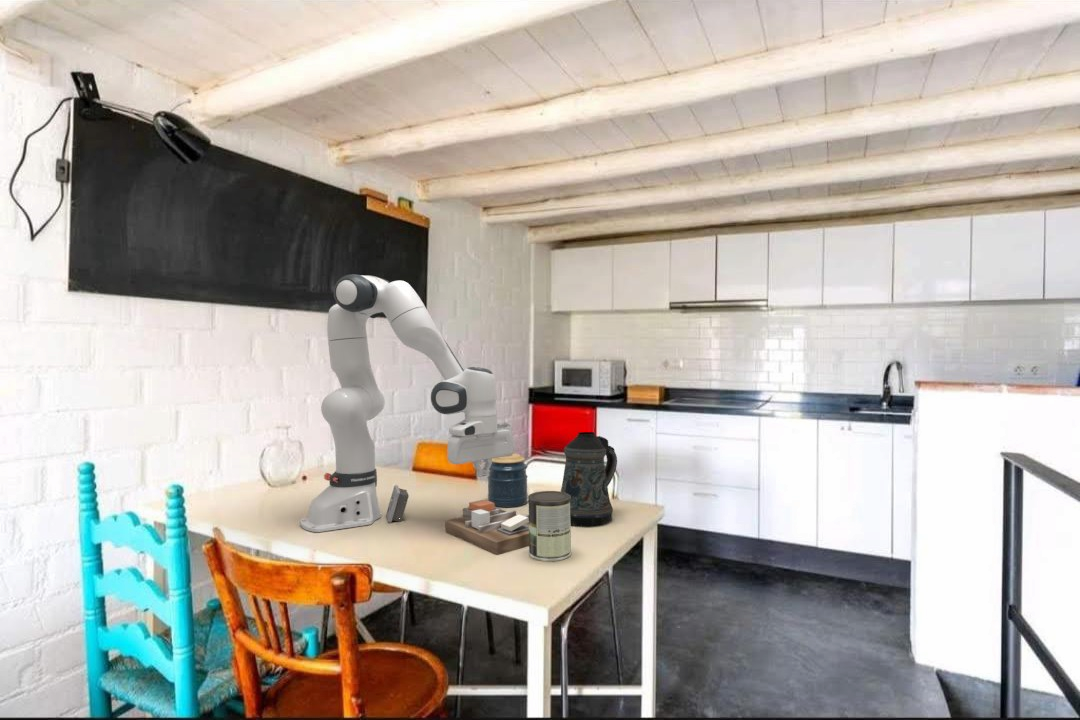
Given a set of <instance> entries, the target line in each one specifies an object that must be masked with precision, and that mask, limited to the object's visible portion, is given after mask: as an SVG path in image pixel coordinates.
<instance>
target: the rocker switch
mask: <svg viewBox="0 0 1080 720" xmlns="http://www.w3.org/2000/svg"><path fill="white" fill-rule="evenodd" d="M528 522H529V519H528V517H525V516H523V515H522V514H519V513H518V514H516V516H514V517H512V518H510V519H508V520H506V521H504V522H503V523H501V528H503V529H506V530H509V531H513V530H515V529H517V528H518V527H520V526H522V525H524V524H526V523H528Z"/></svg>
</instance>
